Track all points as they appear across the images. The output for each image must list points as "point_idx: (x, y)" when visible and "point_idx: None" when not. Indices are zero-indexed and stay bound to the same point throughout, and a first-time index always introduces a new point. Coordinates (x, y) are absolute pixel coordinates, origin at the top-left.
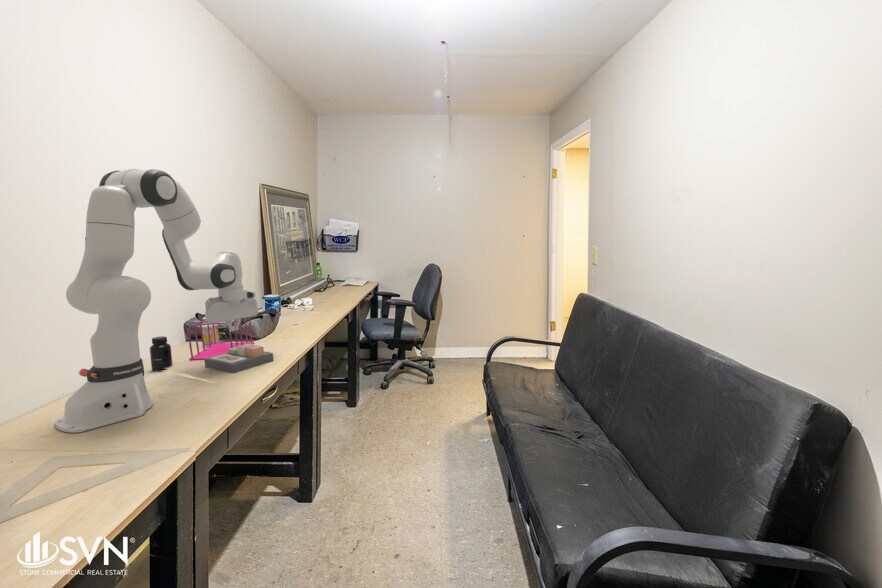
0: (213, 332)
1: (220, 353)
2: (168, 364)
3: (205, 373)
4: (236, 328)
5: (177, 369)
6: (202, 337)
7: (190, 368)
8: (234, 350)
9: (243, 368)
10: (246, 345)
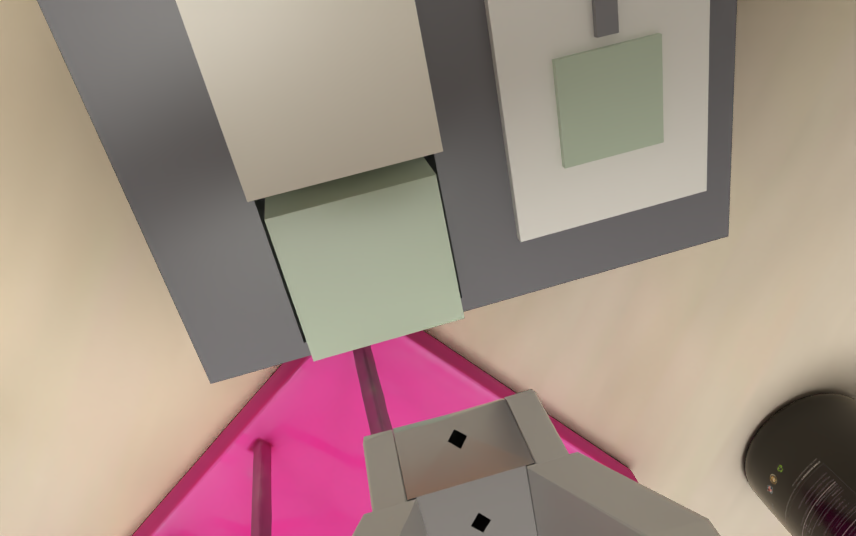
0: None
1: None
2: (824, 422)
3: (739, 42)
4: (423, 452)
5: (766, 359)
6: None
7: (707, 317)
8: (438, 188)
9: None
10: (299, 69)
